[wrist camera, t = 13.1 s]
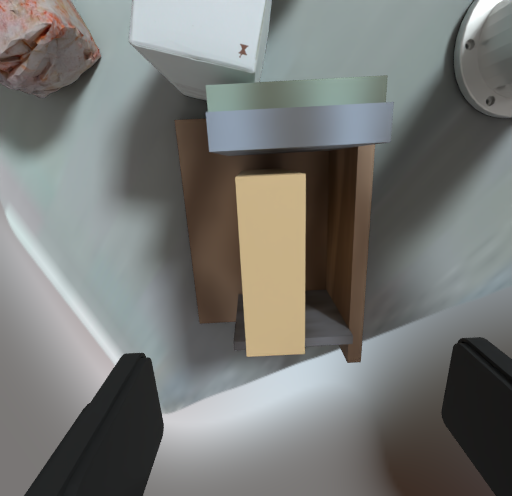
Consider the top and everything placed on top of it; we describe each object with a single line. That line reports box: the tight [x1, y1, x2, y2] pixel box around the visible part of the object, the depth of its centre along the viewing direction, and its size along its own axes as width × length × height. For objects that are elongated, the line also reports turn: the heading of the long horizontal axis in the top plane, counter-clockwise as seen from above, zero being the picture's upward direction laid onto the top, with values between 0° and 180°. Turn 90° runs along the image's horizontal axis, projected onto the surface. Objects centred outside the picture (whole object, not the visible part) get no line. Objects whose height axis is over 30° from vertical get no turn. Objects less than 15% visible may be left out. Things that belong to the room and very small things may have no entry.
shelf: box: [175, 75, 394, 363], centre depth 25 cm, size 16×22×14 cm
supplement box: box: [129, 0, 272, 101], centre depth 21 cm, size 7×7×13 cm
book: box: [235, 169, 306, 357], centre depth 24 cm, size 4×12×13 cm, turn 3°
